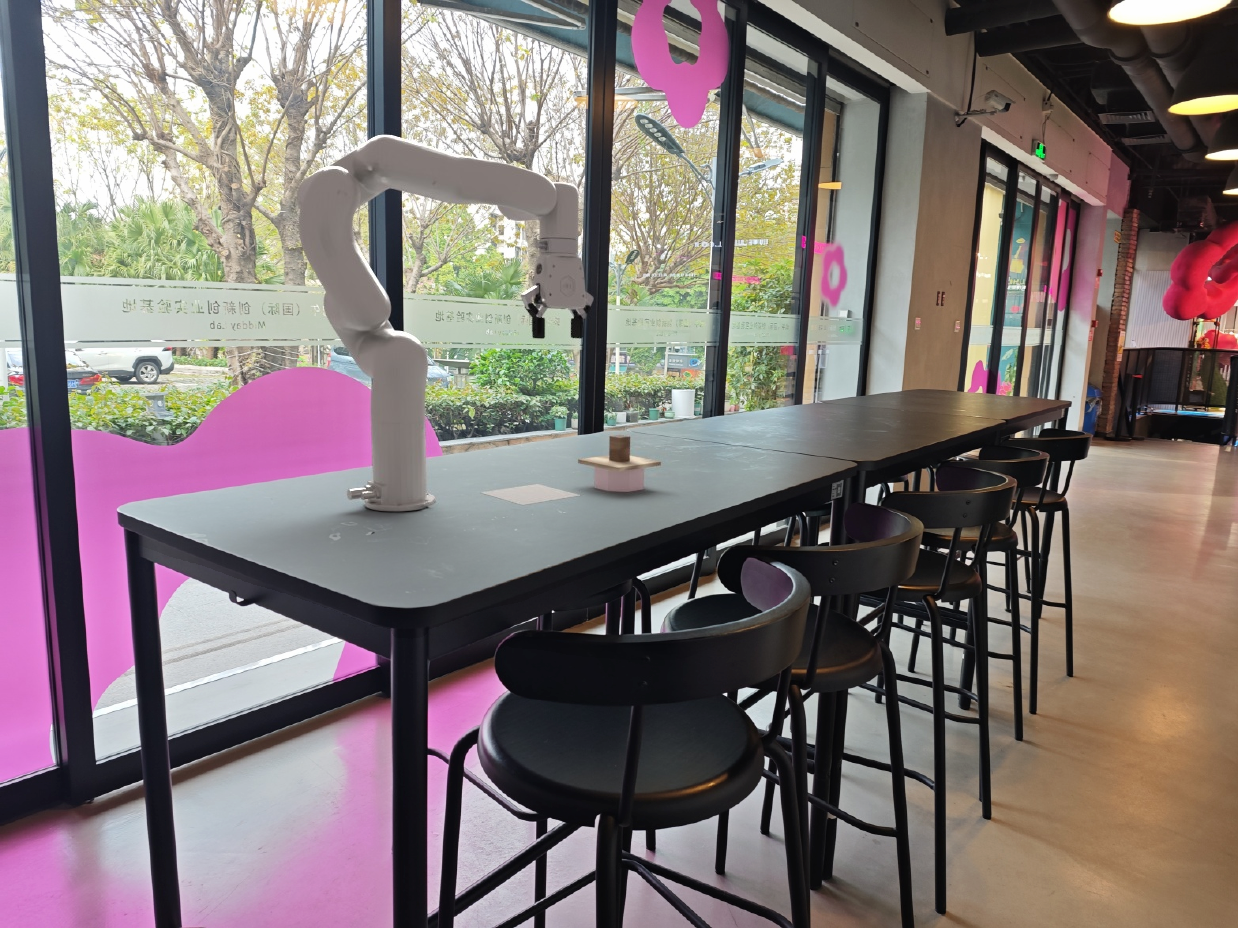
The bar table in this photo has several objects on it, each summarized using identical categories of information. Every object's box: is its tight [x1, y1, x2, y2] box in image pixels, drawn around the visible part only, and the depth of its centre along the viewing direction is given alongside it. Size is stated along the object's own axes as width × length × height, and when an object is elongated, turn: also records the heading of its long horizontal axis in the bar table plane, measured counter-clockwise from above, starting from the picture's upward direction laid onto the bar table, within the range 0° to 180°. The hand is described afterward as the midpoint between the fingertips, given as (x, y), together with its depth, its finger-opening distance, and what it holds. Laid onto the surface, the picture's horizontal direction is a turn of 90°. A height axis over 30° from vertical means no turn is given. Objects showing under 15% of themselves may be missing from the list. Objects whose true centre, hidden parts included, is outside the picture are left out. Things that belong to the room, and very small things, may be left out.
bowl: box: [593, 467, 645, 493], centre depth 172 cm, size 10×10×5 cm
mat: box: [480, 483, 581, 506], centre depth 163 cm, size 14×14×1 cm
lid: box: [577, 434, 662, 472], centre depth 171 cm, size 12×12×6 cm
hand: (558, 338), depth 166 cm, fingers open, 9 cm apart
